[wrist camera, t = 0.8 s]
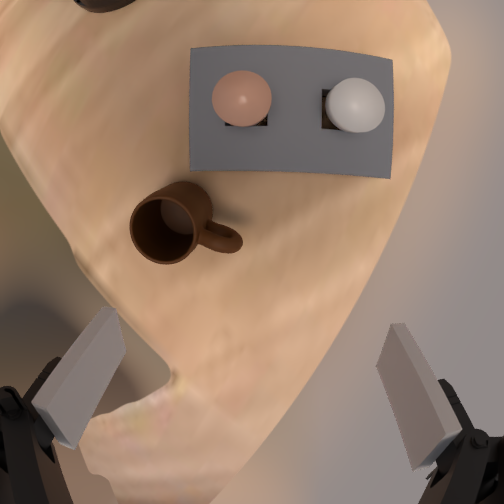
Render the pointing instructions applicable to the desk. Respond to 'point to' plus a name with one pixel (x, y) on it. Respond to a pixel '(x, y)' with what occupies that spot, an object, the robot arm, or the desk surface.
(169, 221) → the mug
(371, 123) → the grey plug
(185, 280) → the desk surface
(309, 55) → the panel
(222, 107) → the terracotta plug
